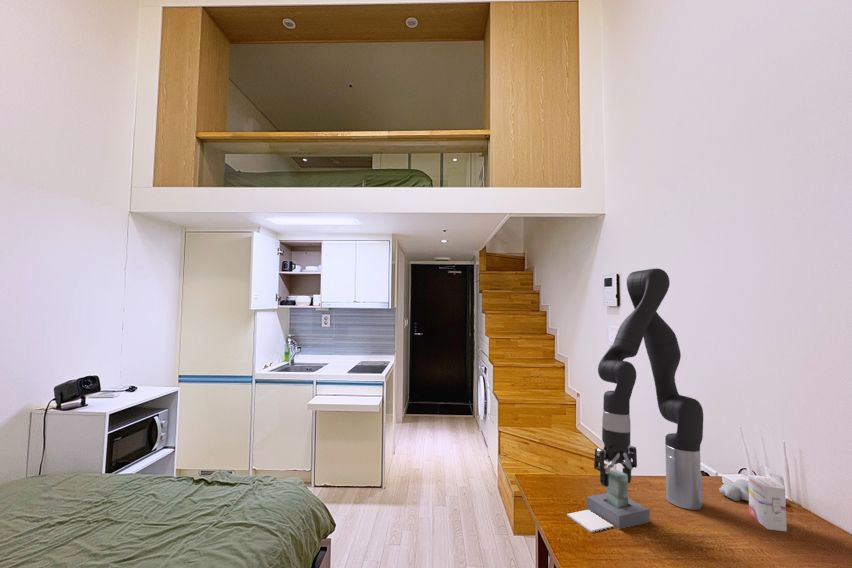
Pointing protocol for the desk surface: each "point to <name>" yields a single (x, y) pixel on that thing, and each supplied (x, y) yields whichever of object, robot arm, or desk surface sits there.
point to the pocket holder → (618, 512)
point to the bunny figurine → (736, 490)
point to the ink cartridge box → (768, 500)
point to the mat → (589, 520)
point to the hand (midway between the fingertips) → (615, 483)
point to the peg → (617, 489)
